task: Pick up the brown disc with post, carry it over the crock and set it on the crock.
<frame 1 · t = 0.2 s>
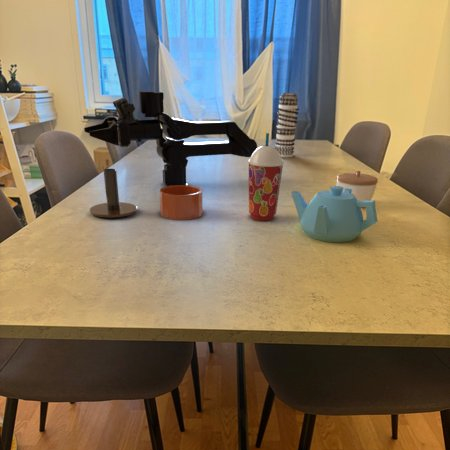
hand: (86, 131, 120), 17 cm above the table, tool horizontal, fingers open, 9 cm apart
teapot: (329, 234, 99), on the table
smoothie: (262, 218, 109), on the table
white patterned cylinder: (283, 155, 192), on the table
trinket box: (352, 205, 121), on the table
crock: (181, 213, 110), on the table
brown disc with post: (113, 210, 109), point 1 cm above the table
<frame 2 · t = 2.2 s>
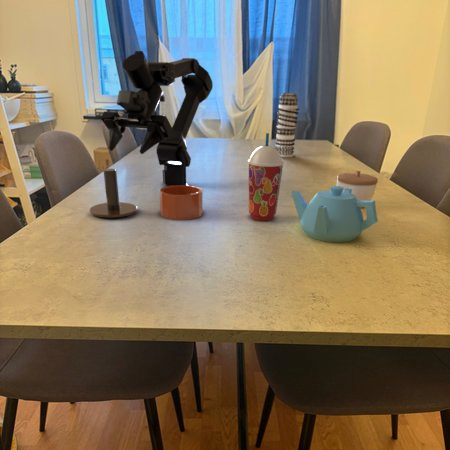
hand: (125, 151, 110), 14 cm above the table, tool tilted 45°, fingers open, 9 cm apart
nothing on the table moved.
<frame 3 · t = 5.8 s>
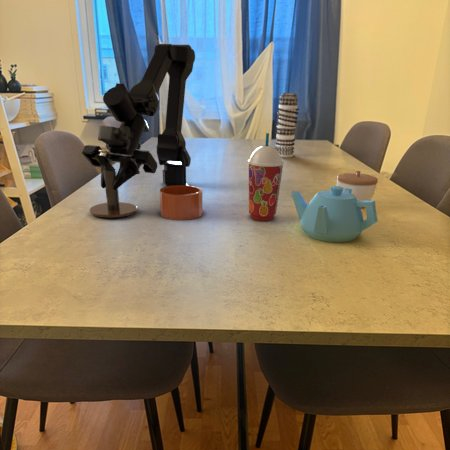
hand: (108, 188, 105), 7 cm above the table, tool tilted 45°, fingers closed on brown disc with post, 3 cm apart
brown disc with post: (113, 210, 109), point 1 cm above the table, touching gripper
everything else where it was.
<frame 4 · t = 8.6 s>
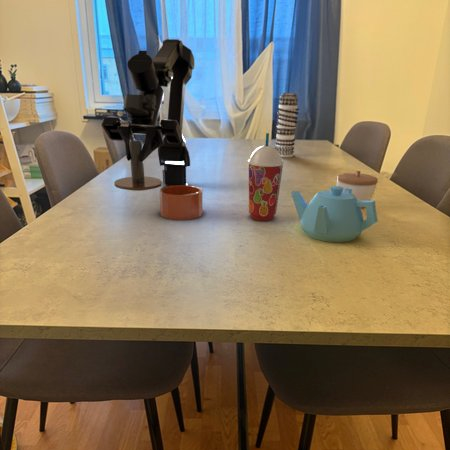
hand: (134, 160, 102), 13 cm above the table, tool tilted 45°, fingers closed on brown disc with post, 3 cm apart
brown disc with post: (138, 184, 106), point 7 cm above the table, touching gripper
everything else where it was.
when the fingers open (12 cm above the table, at t = 11.8 s): brown disc with post stays where it is, resting on crock.
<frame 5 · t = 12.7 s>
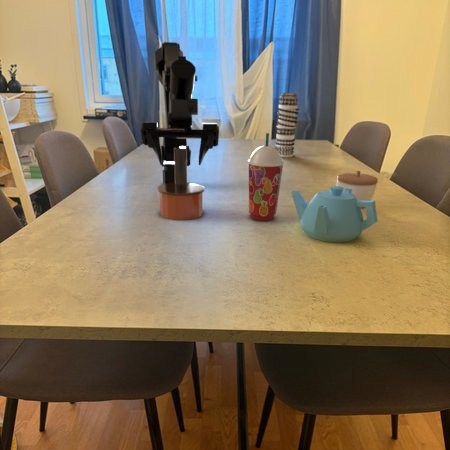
hand: (180, 163, 103), 13 cm above the table, tool tilted 45°, fingers open, 9 cm apart
brown disc with post: (181, 190, 108), point 6 cm above the table, touching crock
everything else where it was.
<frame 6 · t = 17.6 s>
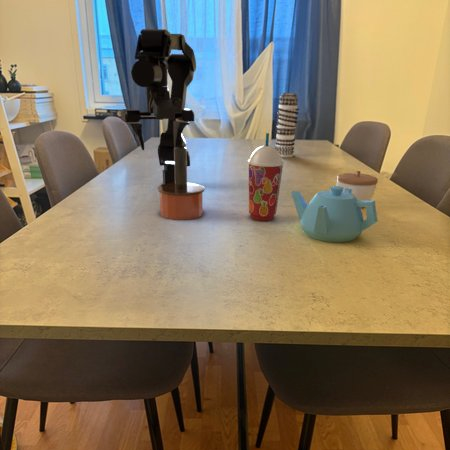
hand: (159, 149, 119), 13 cm above the table, tool pointing down, fingers open, 9 cm apart
nothing on the table moved.
at the end: brown disc with post 0.0 cm off-centre on the crock, point 6.0 cm above the crock's base; brown disc with post tilted 0°; the gripper is holding nothing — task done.
